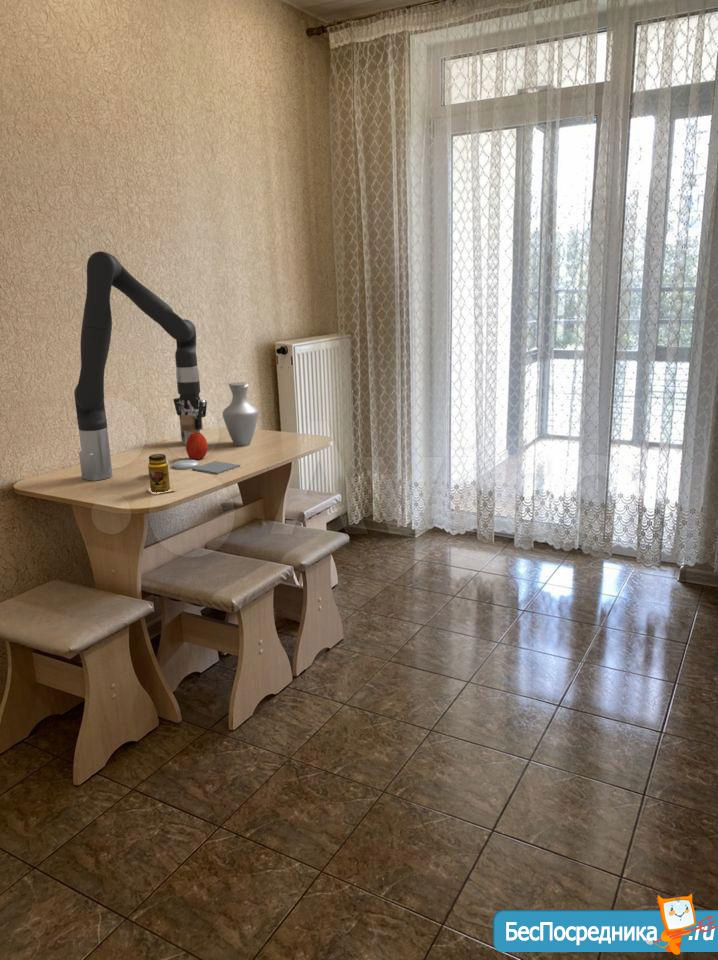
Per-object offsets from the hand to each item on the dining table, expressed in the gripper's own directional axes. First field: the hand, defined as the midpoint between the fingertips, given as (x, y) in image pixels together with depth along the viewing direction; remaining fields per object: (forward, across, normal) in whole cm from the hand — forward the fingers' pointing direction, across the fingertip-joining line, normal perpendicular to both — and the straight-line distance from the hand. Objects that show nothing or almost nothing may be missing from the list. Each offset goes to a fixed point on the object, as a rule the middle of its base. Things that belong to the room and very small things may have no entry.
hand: (192, 428), depth 248 cm
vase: (+16, -15, +42) cm, 47 cm away
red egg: (+16, -14, +15) cm, 26 cm away
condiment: (+16, +6, -22) cm, 28 cm away
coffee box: (+16, -35, +32) cm, 50 cm away
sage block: (+16, -9, -9) cm, 20 cm away
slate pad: (+16, +2, +8) cm, 18 cm away
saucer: (+16, -10, +5) cm, 19 cm away
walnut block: (0, 0, 0) cm, 0 cm away
